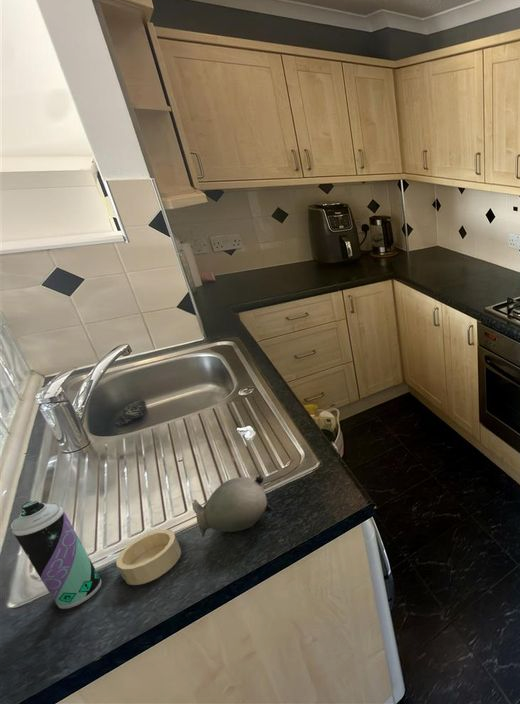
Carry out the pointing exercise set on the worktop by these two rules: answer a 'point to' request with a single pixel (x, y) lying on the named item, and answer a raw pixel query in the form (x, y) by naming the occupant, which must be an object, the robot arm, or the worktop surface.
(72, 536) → the spray can
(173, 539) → the beige base ring
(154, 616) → the worktop surface
